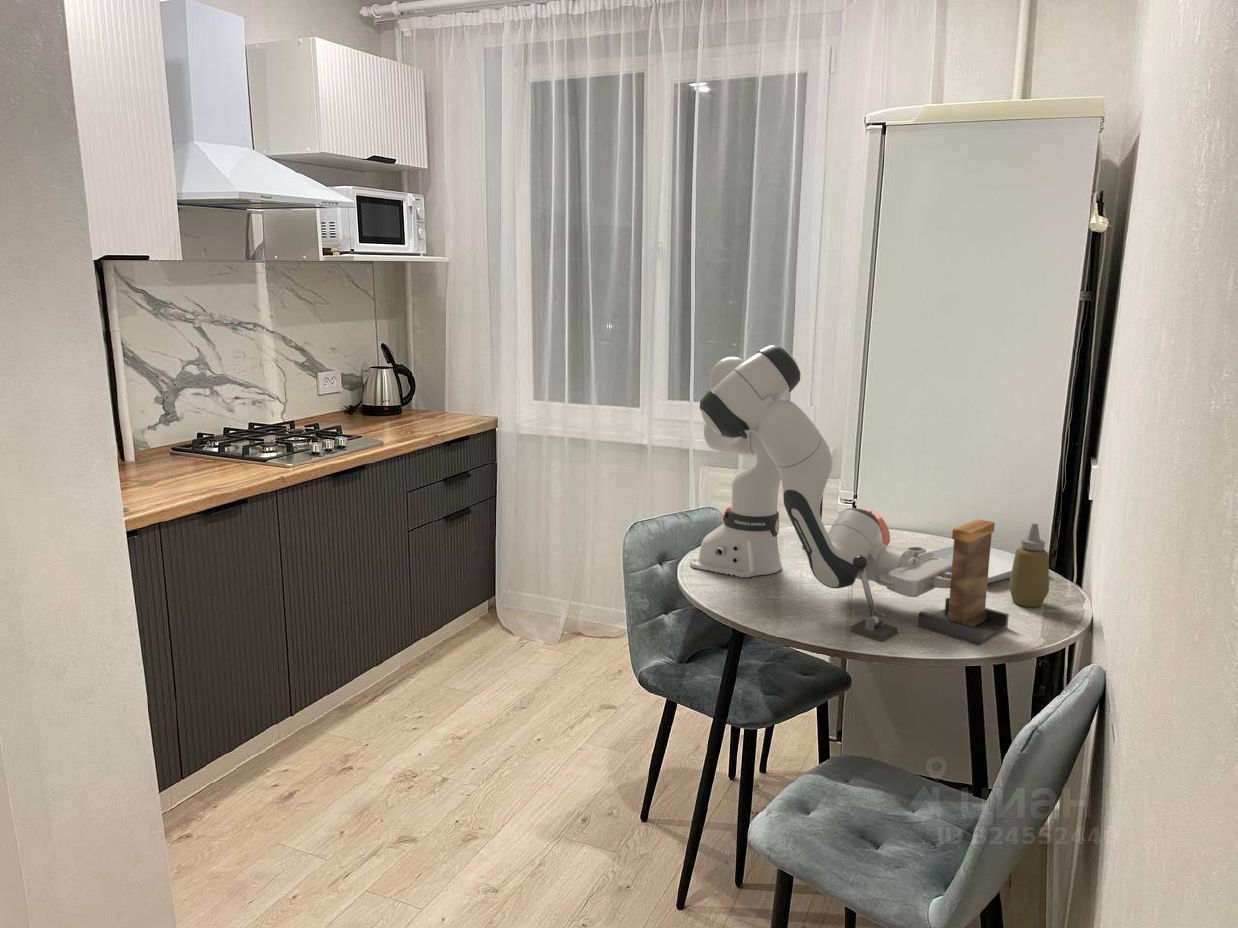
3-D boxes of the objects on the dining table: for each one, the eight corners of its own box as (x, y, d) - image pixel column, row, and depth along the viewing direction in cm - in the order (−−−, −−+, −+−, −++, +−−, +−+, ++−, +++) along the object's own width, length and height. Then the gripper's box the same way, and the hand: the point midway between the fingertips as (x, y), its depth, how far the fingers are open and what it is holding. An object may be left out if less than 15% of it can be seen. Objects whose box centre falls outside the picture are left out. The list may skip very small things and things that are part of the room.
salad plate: (913, 566, 221) (914, 552, 220) (970, 553, 231) (971, 540, 230) (985, 591, 203) (986, 577, 202) (1044, 576, 213) (1045, 562, 212)
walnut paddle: (944, 627, 178) (951, 528, 174) (968, 613, 186) (976, 518, 181) (963, 632, 176) (971, 532, 171) (987, 618, 183) (995, 522, 179)
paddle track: (917, 626, 182) (918, 612, 181) (946, 610, 190) (948, 597, 190) (979, 645, 172) (980, 630, 172) (1007, 627, 181) (1008, 613, 180)
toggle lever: (866, 627, 178) (848, 557, 179) (873, 623, 180) (856, 554, 181) (878, 626, 176) (860, 556, 177) (885, 623, 178) (867, 553, 179)
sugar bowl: (885, 541, 240) (887, 505, 238) (894, 557, 227) (897, 518, 225) (839, 540, 242) (840, 503, 240) (845, 555, 228) (847, 517, 226)
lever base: (850, 631, 179) (851, 614, 178) (866, 623, 183) (867, 607, 182) (881, 641, 174) (883, 624, 173) (897, 633, 178) (898, 616, 178)
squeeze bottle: (1002, 604, 194) (1009, 524, 190) (1013, 594, 200) (1020, 517, 196) (1041, 612, 189) (1049, 531, 185) (1052, 602, 195) (1060, 523, 191)
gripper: (874, 565, 182) (937, 581, 172) (923, 544, 196) (984, 559, 186) (872, 594, 183) (935, 612, 174) (921, 572, 197) (982, 587, 187)
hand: (961, 584), depth 180 cm, fingers closed, pressing on walnut paddle
